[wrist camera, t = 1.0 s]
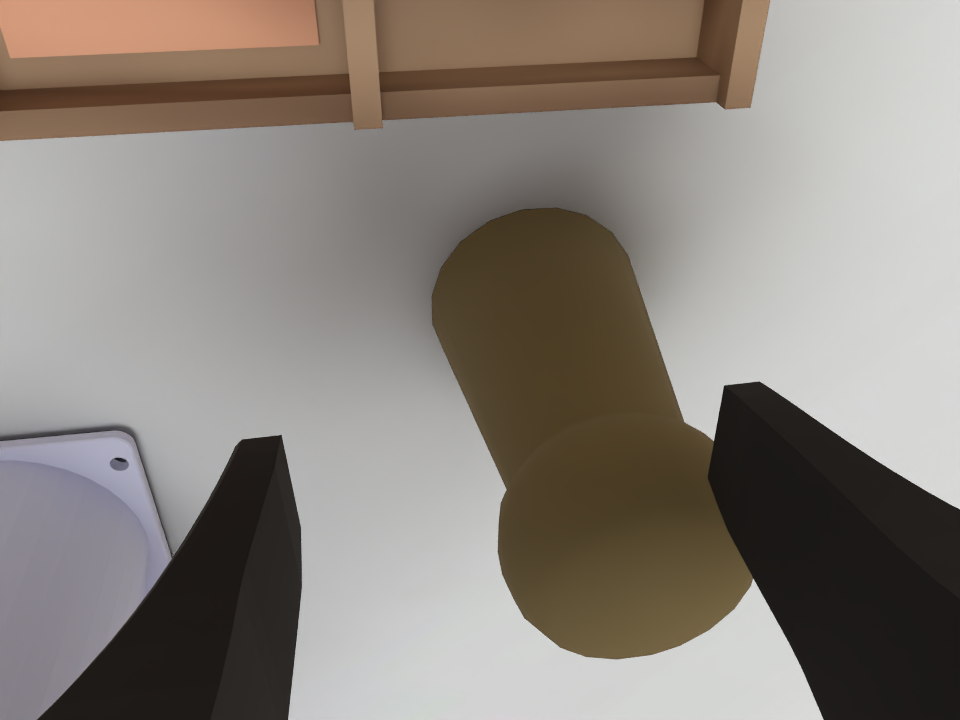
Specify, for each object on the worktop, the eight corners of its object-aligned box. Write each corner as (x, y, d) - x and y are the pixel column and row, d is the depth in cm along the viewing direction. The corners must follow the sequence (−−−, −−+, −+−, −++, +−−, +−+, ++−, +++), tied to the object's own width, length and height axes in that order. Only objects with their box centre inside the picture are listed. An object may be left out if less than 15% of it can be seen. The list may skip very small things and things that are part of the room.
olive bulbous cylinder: (541, 163, 22) (689, 427, 13) (674, 293, 25) (868, 581, 16) (387, 313, 24) (422, 634, 15) (527, 417, 27) (628, 737, 18)
